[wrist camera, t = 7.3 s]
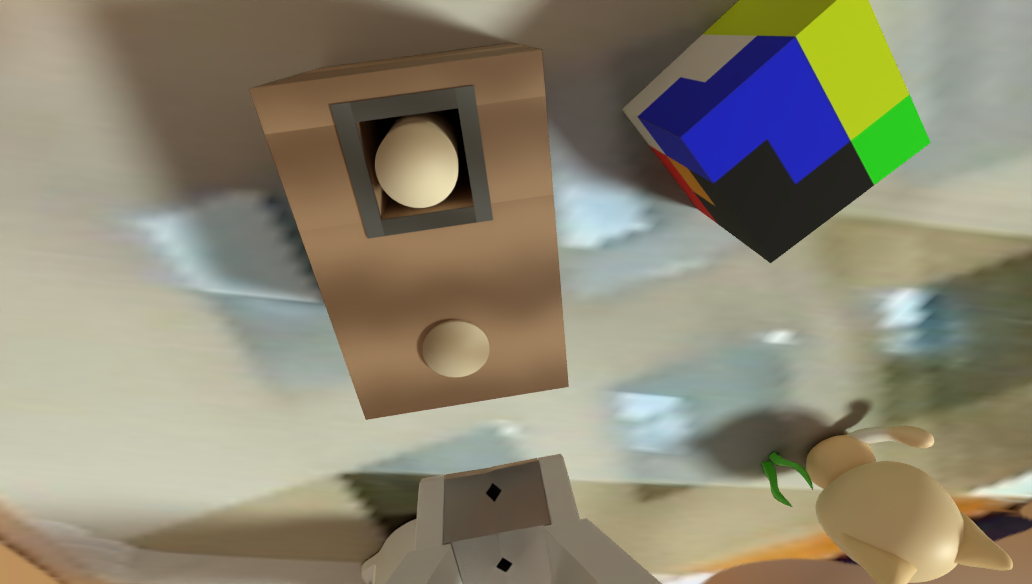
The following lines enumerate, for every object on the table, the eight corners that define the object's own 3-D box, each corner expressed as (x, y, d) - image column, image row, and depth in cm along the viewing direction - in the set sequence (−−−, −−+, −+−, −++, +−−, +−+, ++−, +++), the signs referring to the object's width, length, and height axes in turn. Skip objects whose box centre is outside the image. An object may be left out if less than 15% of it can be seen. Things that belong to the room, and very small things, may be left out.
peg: (461, 148, 32) (464, 201, 22) (407, 156, 32) (386, 213, 22) (452, 90, 31) (450, 120, 21) (395, 98, 31) (365, 132, 20)
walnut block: (538, 291, 39) (569, 390, 29) (390, 314, 39) (365, 423, 28) (512, 42, 31) (543, 49, 20) (320, 68, 30) (245, 89, 19)
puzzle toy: (621, 109, 33) (680, 137, 25) (745, -6, 31) (859, -20, 22) (697, 208, 38) (770, 263, 29) (811, 114, 35) (930, 142, 26)
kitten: (755, 497, 55) (849, 643, 42) (757, 435, 50) (863, 579, 37) (884, 465, 55) (1019, 602, 42) (898, 400, 50) (1055, 531, 37)
